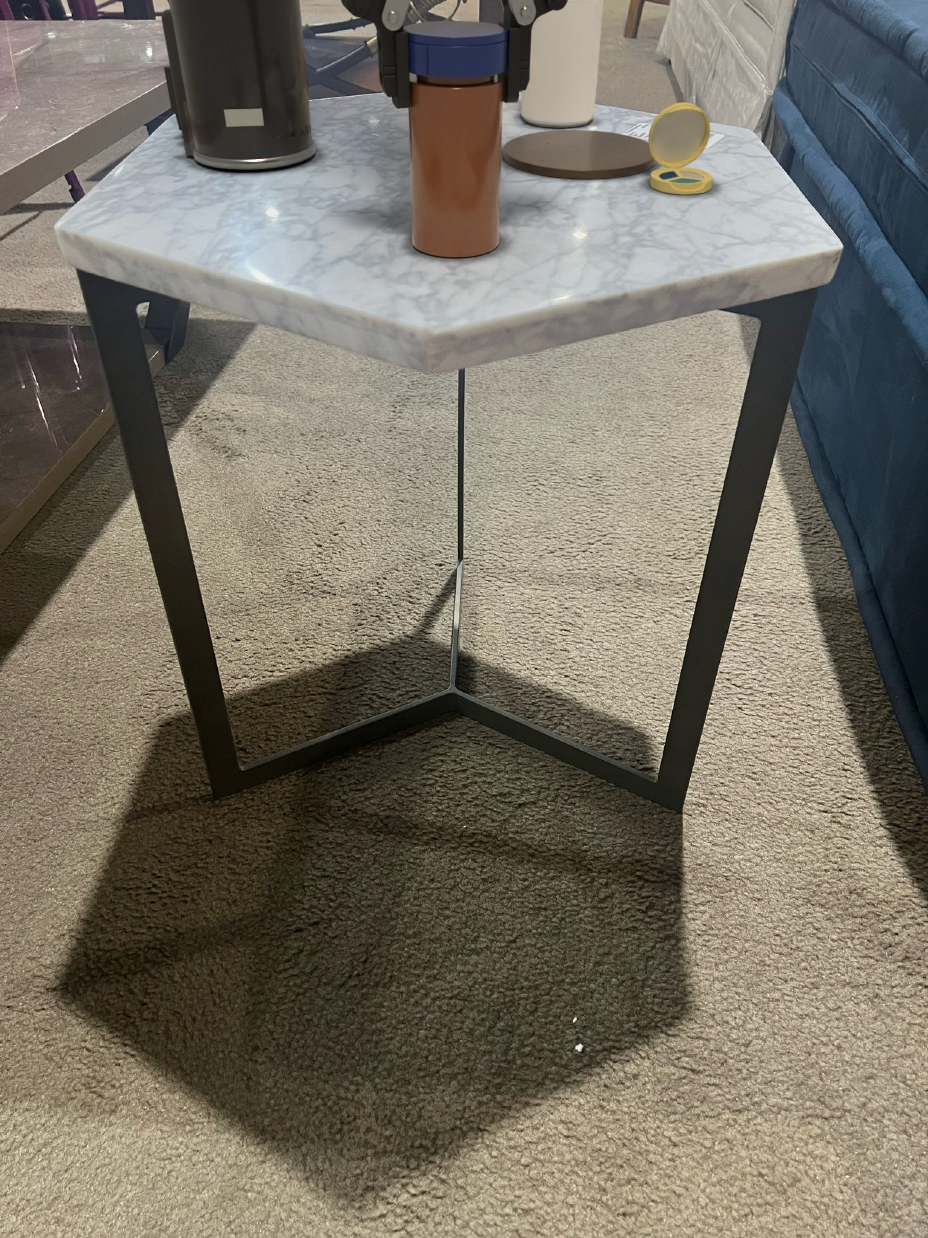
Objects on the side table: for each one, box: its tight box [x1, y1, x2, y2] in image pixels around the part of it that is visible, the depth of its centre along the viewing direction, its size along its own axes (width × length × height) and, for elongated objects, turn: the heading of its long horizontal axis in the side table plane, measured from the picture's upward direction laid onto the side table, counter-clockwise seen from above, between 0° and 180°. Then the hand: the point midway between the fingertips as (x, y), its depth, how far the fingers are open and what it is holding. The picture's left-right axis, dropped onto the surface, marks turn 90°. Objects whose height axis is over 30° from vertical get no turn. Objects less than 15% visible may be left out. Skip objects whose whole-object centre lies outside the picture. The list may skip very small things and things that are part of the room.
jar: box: [407, 73, 504, 258], centre depth 54 cm, size 5×5×11 cm
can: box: [520, 0, 604, 129], centre depth 78 cm, size 6×6×12 cm
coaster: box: [502, 129, 657, 180], centre depth 73 cm, size 12×12×1 cm
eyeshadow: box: [647, 101, 714, 195], centre depth 66 cm, size 4×5×5 cm
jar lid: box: [403, 20, 508, 79], centre depth 51 cm, size 6×6×2 cm
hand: (455, 101), depth 53 cm, fingers closed on jar lid, 5 cm apart
